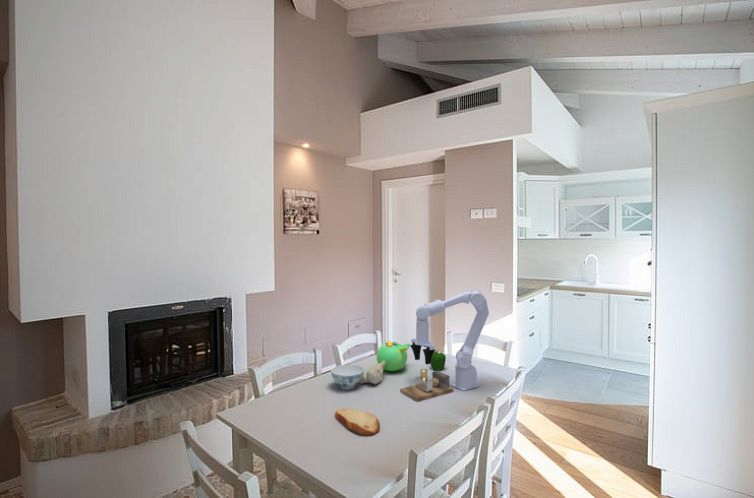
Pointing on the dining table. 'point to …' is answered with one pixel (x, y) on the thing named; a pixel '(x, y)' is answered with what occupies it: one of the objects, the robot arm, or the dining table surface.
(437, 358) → the bell pepper
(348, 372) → the chinaware
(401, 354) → the toy bird
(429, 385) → the jaw
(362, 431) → the bread slice
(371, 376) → the ginger root
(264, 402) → the dining table surface
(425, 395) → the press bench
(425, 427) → the dining table surface
